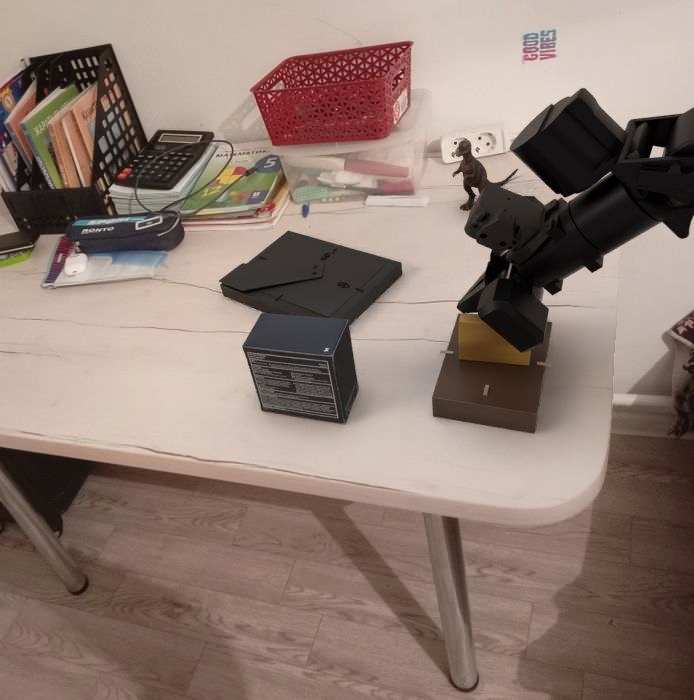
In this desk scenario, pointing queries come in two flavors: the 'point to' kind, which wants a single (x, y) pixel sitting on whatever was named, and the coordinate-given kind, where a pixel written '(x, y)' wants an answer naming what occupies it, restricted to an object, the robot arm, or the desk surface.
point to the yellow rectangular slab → (486, 343)
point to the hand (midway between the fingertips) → (459, 308)
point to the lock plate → (491, 388)
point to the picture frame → (311, 279)
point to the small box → (302, 366)
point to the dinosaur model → (473, 173)
